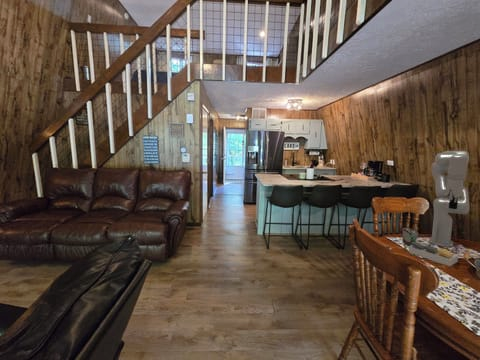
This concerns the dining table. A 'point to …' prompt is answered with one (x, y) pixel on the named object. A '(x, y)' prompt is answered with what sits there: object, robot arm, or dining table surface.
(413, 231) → the food container
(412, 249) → the grey tray
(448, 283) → the dining table surface
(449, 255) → the rocker
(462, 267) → the dining table surface
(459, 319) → the dining table surface
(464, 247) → the dining table surface
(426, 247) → the rocker
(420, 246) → the rocker
